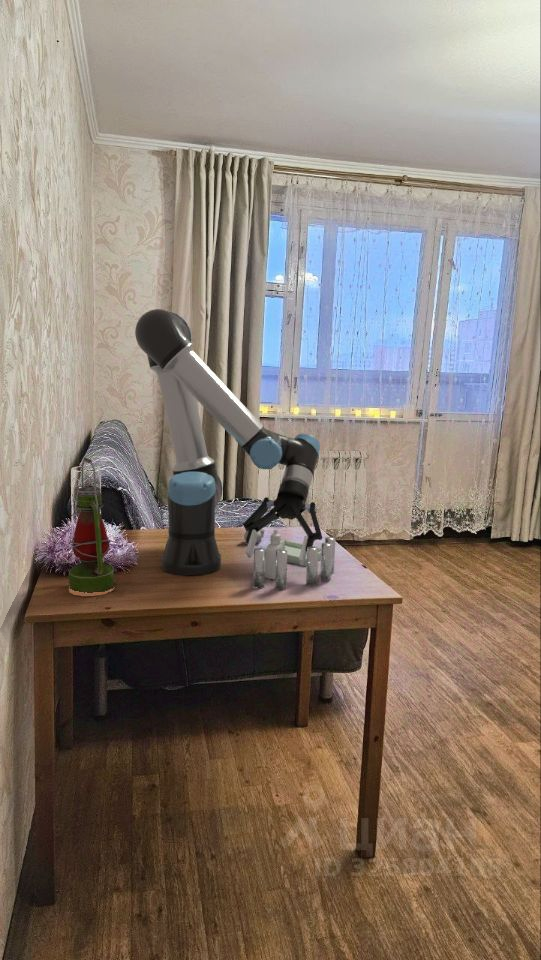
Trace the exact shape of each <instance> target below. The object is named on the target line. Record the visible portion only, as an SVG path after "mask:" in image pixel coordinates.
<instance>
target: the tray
mask: <svg viewBox="0 0 541 960" xmlns="http://www.w3.org/2000/svg"><path fill="white" fill-rule="evenodd" d="M280 543H281V544H283V545H284V546H285V550H287V563H291V564H294V565H299V566H303V567H307V555H306V559H305V562H304V565H301V564H300V561H299V556H300V553H301V549H302V545H303V542H302V543H300V542H296V541H292V540H287V539H284V540H281V541H280ZM313 547H317V548H318V561H321V549H322V547H319V546H315V545H313ZM266 548H267V546H266V547H263V549H265V552H266Z"/></svg>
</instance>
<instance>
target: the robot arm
mask: <svg viewBox="0 0 541 960" xmlns="http://www.w3.org/2000/svg"><path fill="white" fill-rule="evenodd" d="M135 325H136V326H135V332H134V336H135V339H136V343H137V345H138V346H139V347H140V349H141V351H143V352H144V353H145V354H146V356H147V361H148V365H149V369H150V370H151V371H153V372H155V373H156V374H157V378H158V382H159V388H160V392H161V396H162V401H163V406H164V410H165V415H166V421H167V425H168V429H169V433H170V438H171V442H172V448H173V452H174V456H175V457H174V458H175V461H176V462H175V465H174V466H173V467H172V475H173V476H171V477H170V479H169V480H168V484H167V485H168V486H167V496H168V498H167V500H168V501H167V503H168V504H167V505H168V506H167V507H168V514H167V515H168V516H167V517H168V523H167V524H168V537H167V541H166V544H165V547H164V551H163V554H162V556H161V568H162V570H163V571H165V572H167V573H171V574H174V575H179V576H199V575H200V576H202V575H206V574H210V573H213V572H216V571H218V570H220V569H221V567H222V555H221V553H220V551H219V547H218V543H217V541H216V540H217V539H216V534H215V531H216V530H215V528H216V526H215V523H216V521H215V520H216V516H215V515H216V508H217V506H218V504H219V502H220V501H221V499H222V496H223V482H222V480H221V478H220V477H219V474H218V472H217V471H218V470H217V467H216V461H215V460H214V459H213V458H211V457H210V456H209V455H208V450H207V445H206V441H205V436H204V431H203V426H202V422H201V416H200V411H199V407H198V403H199V404H200V405H201V406H202V407H203V408H204V409H205V411H207V412H208V413H209V414H210V415H211V416H212V417H213V418H214V419H215V421H216V422H217V423H218V424H219V425H220V426H221V427H222V428H223V429H224V430H225V431H226V432H227V433H228V434H229V435H230V436H231V438H232V439H234V440H235V442H236V443H237V444H238V445H239V446H240V447H241V448H242V450H244V451H245V453H246V454H247V455H248V456H249V457H250V459H251V462H252V463H253V465H254V466H256V467H257V468H259V469H262V470H270V469H274V468H275V467H276V466H277V465H278V464H280V465H283V466H285V467H284V472H283V475H282V478H281V482H280V485H279V489H278V491H277V496H276V498H275V499H274V500H272V499H269V498H268V497H266V496H265V497H264V498H263V500H262V502H261V504H260V505H259V506H258V507H257V508H256V509H255V511H254V512H253V513H252V514H250V516H249V517H248V518H247V519H246V520H245V521H244V522H243V523H242V525H243V527H244V529H245V532H246V531H249V532H248V535H247V538H246V543H247V547H246V549H245V555H246V557H248V558H249V559H251V558H252V557H253V554H254V549H255V548H256V547H255V546H256V544H257V543H256V540H257V537H258V534H257V532H258V531H259V530H261V529H264V528H265V527H266V526H268V525H270V524H271V523H273V521H276V520H278V519H279V518H281V519H283V520H284V519H288V520H294V519H296V520H297V522H298V523H299V525H300V526H301V528H302V529H303V531H304V532H305V534H306V535H305V536H304V538H303V541H302V544H303V545H302V549H301V553H300V556H299V561H300V564H301V565H300V566H302V565H304V562H305V559H306V555H307V548H308V547H313V546H314V542H315V541H317V540H319V541H322V540H323V534H322V531H321V528H320V525H319V520H318V518H317V511H318V510H317V506H316V502H315V501H312V502H310V503H308V504H307V499H308V495H309V490H310V487H311V483H312V480H313V476H314V473H315V469H316V465H317V463H318V459H319V456H320V455H319V454H320V449H321V443H320V440H319V439H318V438H317V437H316V436H314V435H312V434H310V433H299V434H297V435H296V436H294V438H293V437H290V436H285V435H282V434H280V433H277V432H275V431H273V430H268V429H266V427H264V425H263V424H262V423H261V422H260V421H259V420H258V418H256V417H255V416H254V414H253V413H252V412H251V411H250V410H249V409H248V408H247V407H246V406H245V404H243V403H242V402H241V400H240V399H239V398H238V397H237V396H236V395H235V394H234V393H233V392H232V390H230V389H229V388H228V386H227V385H226V384H225V383H224V382H223V381H222V380H221V379H220V378H219V377H218V375H217V374H216V373H215V372H214V371H213V370H212V369H211V368H210V367H209V365H208V364H206V362H204V361H203V359H202V358H201V357H200V356H199V354H197V353H196V352H195V351H194V343H193V342H192V332H191V329H190V326H189V325H188V323H187V322H186V320H185V319H184V318H183V317H182V316H180V315H179V314H177V313H175V312H172V311H168V310H165V309H162V308H161V309H159V308H157V309H156V308H155V309H151V310H148V311H146V312H145V313H143V314H142V315H141V316H140V317H139V319H138V321H137V322H136V324H135ZM197 401H198V403H197ZM272 507H273V508H272ZM268 510H269V512H268ZM306 510H307V513H308V514H309V515H310V517H311V520H312V525H313V528H314V532H313V531H312V529H311V527H310V526H309V525H308V523H307V521H306V520H305V518H304V517H303V515H302V513H304V512H305V511H306Z"/></svg>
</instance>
